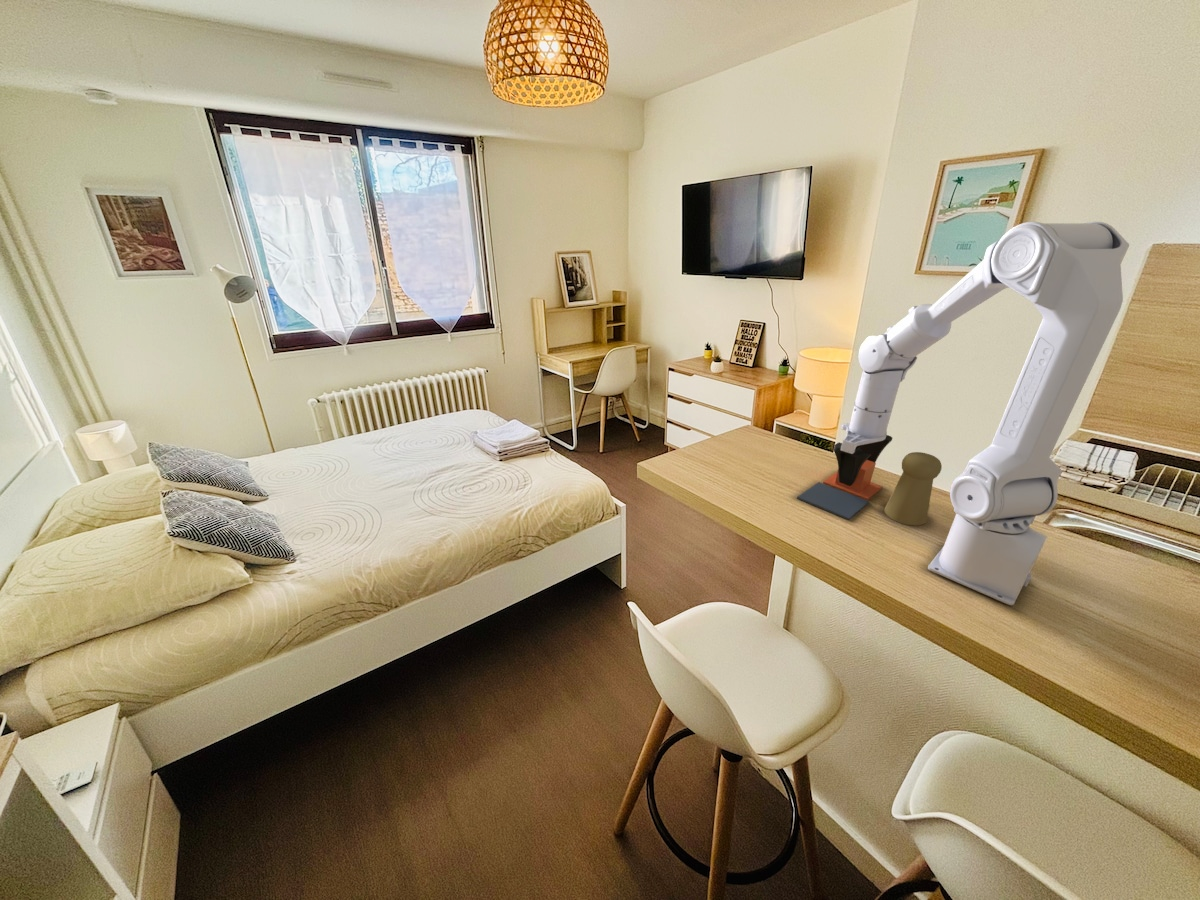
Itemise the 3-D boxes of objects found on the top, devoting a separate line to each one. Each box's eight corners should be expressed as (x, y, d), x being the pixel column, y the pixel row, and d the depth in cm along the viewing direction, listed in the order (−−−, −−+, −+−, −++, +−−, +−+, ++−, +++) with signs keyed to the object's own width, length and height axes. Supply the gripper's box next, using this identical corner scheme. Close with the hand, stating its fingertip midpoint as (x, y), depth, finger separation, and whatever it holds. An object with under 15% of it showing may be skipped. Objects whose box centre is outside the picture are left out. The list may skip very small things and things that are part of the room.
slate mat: (868, 503, 81) (869, 501, 81) (848, 520, 76) (849, 518, 76) (818, 483, 87) (818, 481, 87) (796, 498, 82) (797, 496, 82)
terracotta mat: (882, 488, 85) (882, 486, 85) (867, 500, 82) (868, 498, 81) (838, 472, 91) (838, 470, 91) (822, 483, 87) (823, 481, 87)
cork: (924, 530, 74) (946, 468, 69) (881, 517, 77) (899, 457, 72) (928, 513, 78) (949, 454, 73) (887, 501, 81) (904, 444, 76)
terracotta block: (869, 484, 86) (876, 462, 84) (859, 492, 83) (865, 470, 81) (845, 475, 89) (850, 454, 87) (834, 483, 86) (839, 461, 84)
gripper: (866, 392, 87) (849, 457, 92) (830, 410, 78) (814, 481, 84) (908, 401, 82) (887, 470, 88) (874, 422, 73) (854, 496, 79)
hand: (854, 476), depth 85 cm, fingers open, 7 cm apart
